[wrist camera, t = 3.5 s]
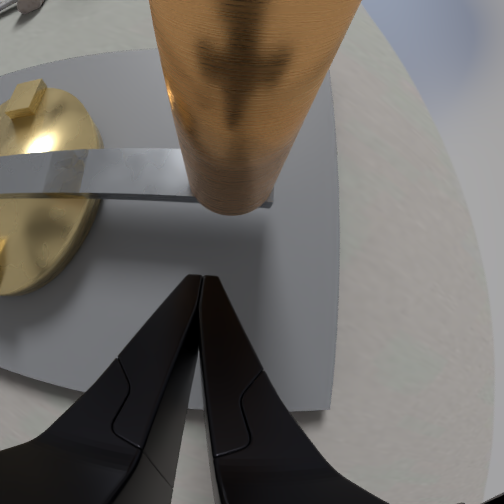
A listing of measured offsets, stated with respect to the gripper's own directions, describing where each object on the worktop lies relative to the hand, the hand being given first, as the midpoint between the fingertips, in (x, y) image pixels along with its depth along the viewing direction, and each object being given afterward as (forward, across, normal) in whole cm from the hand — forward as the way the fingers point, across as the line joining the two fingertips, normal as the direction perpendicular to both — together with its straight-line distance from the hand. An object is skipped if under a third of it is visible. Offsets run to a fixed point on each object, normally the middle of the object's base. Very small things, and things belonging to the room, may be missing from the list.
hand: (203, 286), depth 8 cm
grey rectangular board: (+11, +10, +3) cm, 15 cm away
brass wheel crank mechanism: (+9, +9, +2) cm, 13 cm away
